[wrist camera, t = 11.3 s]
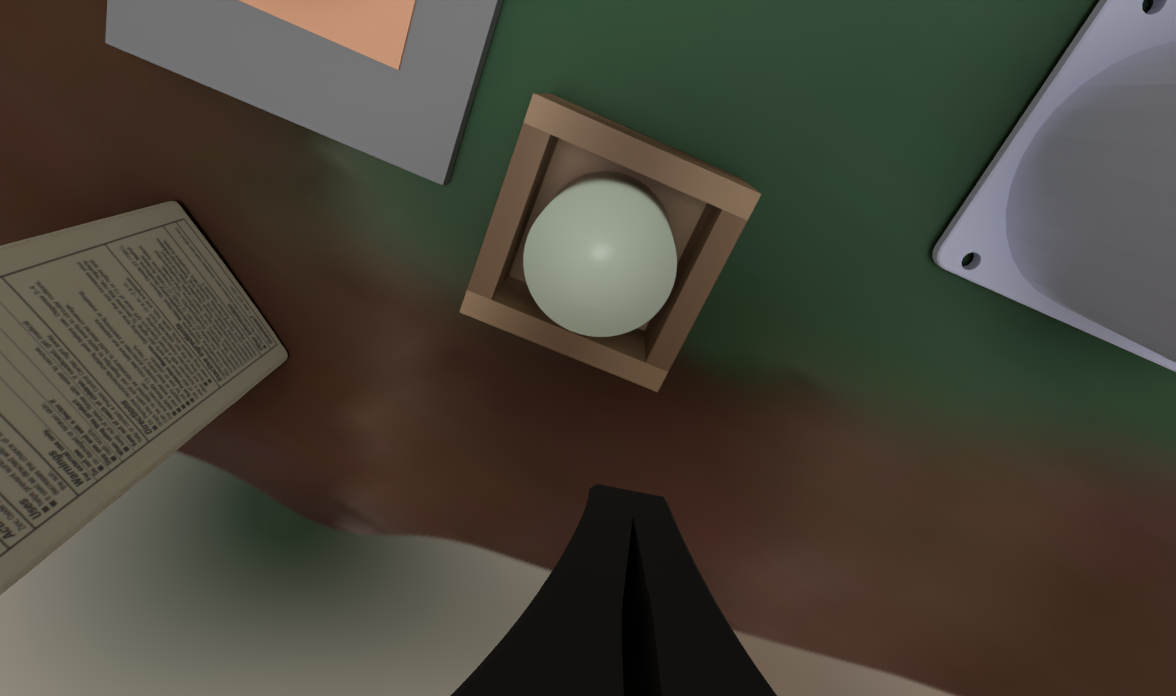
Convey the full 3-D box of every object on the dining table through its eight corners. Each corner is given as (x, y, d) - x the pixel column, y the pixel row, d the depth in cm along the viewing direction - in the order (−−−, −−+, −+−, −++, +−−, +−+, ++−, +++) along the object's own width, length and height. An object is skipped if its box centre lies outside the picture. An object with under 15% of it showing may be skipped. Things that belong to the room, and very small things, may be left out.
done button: (693, 203, 17) (704, 224, 14) (637, 318, 18) (638, 358, 15) (568, 149, 16) (555, 160, 14) (523, 271, 18) (502, 303, 15)
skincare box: (84, 249, 20) (-647, 453, 8) (181, 194, 19) (-503, 344, 7) (206, 405, 22) (-249, 734, 11) (299, 364, 21) (-96, 679, 10)
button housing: (741, 178, 17) (761, 194, 14) (654, 350, 19) (657, 392, 17) (550, 93, 17) (533, 93, 14) (484, 280, 19) (459, 312, 16)
